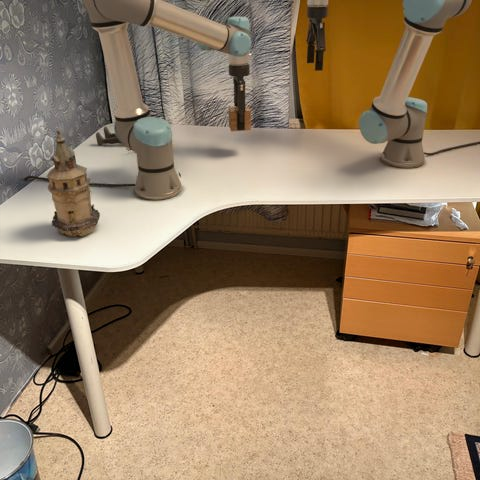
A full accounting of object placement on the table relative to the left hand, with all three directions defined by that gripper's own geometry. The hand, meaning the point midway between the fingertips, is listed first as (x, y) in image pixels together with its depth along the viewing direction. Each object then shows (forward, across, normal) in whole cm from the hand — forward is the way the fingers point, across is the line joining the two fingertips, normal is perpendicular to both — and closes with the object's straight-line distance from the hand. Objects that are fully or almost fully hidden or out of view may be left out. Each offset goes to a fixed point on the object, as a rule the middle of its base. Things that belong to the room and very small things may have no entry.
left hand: (239, 126), depth 202 cm
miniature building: (+11, -53, +54) cm, 77 cm away
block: (+1, 0, 0) cm, 1 cm away
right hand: (-19, +9, -30) cm, 37 cm away
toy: (+11, +19, +40) cm, 46 cm away
